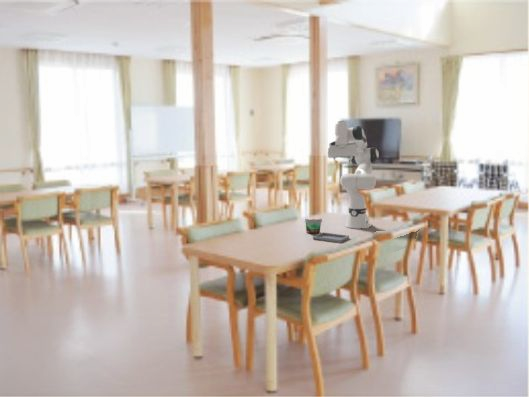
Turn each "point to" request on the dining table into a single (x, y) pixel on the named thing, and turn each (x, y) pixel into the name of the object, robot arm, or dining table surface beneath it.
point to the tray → (331, 237)
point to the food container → (313, 226)
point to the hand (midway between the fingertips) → (343, 163)
